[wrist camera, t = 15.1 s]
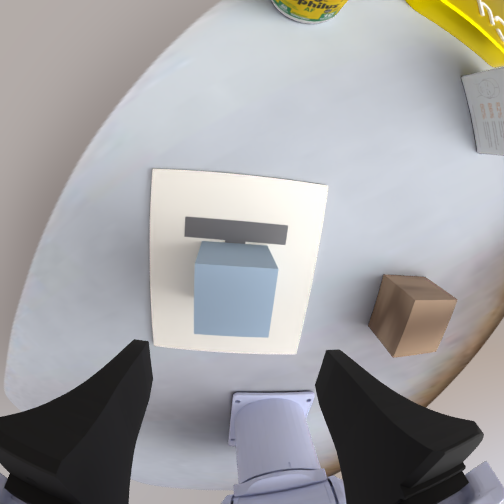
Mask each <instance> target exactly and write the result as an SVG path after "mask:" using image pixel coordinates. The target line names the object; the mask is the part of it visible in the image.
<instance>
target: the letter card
mask: <svg viewBox="0 0 504 504" xmlns="http://www.w3.org/2000/svg"><path fill="white" fill-rule="evenodd" d="M328 187H329V186H327V185H321V184H314V183H308V182H301V181H293V180H286V179H278V178H270V177H261V176H252V175H242V174H232V173H220V172H207V171H192V170H175V169H153V172H152V186H151V206H150V293H151V313H152V328H153V340H154V346H159V347H168V348H177V349H187V350H198V351H211V352H226V353H246V354H296V353H297V349H298V345H299V341H300V336H301V332H302V328H303V323H304V319H305V314H306V310H307V305H308V301H309V296H310V291H311V286H312V281H313V276H314V271H315V266H316V260H317V255H318V249H319V244H320V238H321V232H322V226H323V220H324V214H325V207H326V201H327V194H328ZM202 241H210V242H225V243H239V244H253V245H267V246H268V248H269V250H270V252H271V254H272V256H273V258H274V260H275V263H276V265H277V267H278V276H277V283H276V290H275V297H274V304H273V311H272V317H271V324H270V330H269V337H268V338H265V337H236V336H217V335H202V334H194V274H195V261H196V258H197V255H198V252H199V249H200V246H201V242H202Z"/></svg>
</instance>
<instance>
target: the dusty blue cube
mask: <svg viewBox="0 0 504 504" xmlns="http://www.w3.org/2000/svg"><path fill="white" fill-rule="evenodd" d="M277 276H278V267H277V265H276V263H275V260H274V258H273V256H272V254H271V252H270V250H269V248H268V246H267V245H253V244H239V243H225V242H210V241H202V242H201V246H200V249H199V252H198V255H197V258H196V261H195V274H194V334H202V335H217V336H236V337H265V338H268V337H269V330H270V324H271V317H272V311H273V304H274V297H275V290H276V283H277Z"/></svg>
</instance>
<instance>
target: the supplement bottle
mask: <svg viewBox="0 0 504 504" xmlns="http://www.w3.org/2000/svg"><path fill="white" fill-rule="evenodd" d="M347 1H348V0H272V2H273V4H274V6H275V7H276V8H277V9H278V10H279V11H280V12H281V13H282V14H284V15H285V16H287V17H288V18H290V19H293V20H295V21H298V22H302V23H308V24H316V23H322V22H326V21H328V20H330V19H332V18H333V17H334V16H335V15H336V14H337V13H338V12H339V11H340V9H341V8H342V7H343V6H344V4H345V3H346V2H347Z"/></svg>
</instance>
